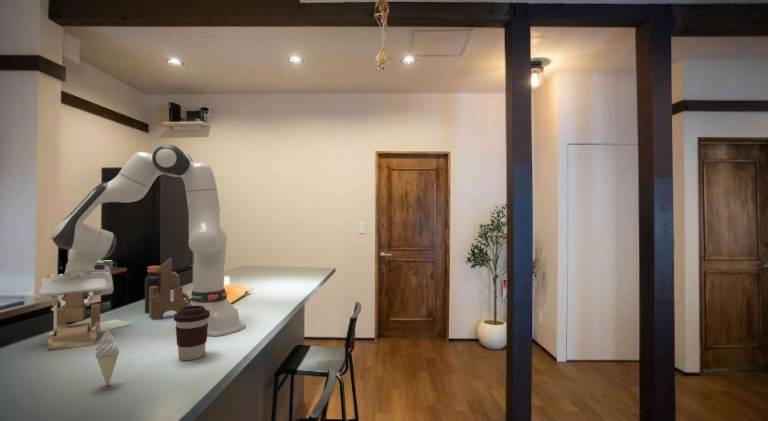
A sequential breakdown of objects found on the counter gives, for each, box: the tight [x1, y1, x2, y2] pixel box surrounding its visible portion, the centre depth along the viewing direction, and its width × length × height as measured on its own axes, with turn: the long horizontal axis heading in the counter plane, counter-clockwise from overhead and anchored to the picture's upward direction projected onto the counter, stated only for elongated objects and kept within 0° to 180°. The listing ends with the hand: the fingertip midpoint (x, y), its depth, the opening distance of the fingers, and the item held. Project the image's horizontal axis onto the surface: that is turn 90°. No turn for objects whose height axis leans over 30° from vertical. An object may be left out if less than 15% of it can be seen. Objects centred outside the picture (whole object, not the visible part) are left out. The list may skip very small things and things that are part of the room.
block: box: [64, 292, 86, 324], centre depth 129 cm, size 4×4×9 cm
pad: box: [90, 318, 132, 333], centre depth 148 cm, size 12×12×1 cm
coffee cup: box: [173, 305, 210, 361], centre depth 118 cm, size 10×10×15 cm
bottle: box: [144, 265, 161, 314], centre depth 171 cm, size 7×7×20 cm
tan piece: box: [47, 303, 101, 352], centre depth 131 cm, size 12×12×11 cm
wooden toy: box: [148, 257, 191, 320], centre depth 163 cm, size 16×7×25 cm, turn 111°
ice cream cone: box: [94, 327, 120, 386], centre depth 98 cm, size 5×5×15 cm
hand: (74, 306), depth 129 cm, fingers closed on block, 4 cm apart
